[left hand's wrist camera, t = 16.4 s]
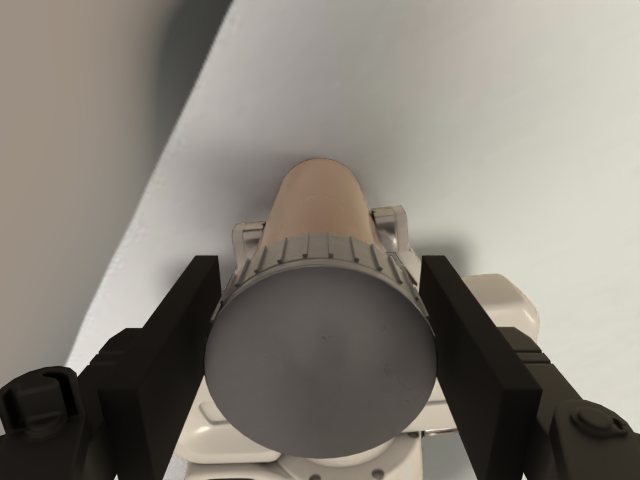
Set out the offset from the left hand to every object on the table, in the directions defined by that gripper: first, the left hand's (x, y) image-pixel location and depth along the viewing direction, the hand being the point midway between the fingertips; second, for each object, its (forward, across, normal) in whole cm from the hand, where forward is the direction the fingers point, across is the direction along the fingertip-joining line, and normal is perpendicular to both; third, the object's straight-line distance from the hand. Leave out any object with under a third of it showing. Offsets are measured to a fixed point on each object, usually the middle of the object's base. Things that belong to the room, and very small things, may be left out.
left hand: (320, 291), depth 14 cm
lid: (-4, 0, 0) cm, 4 cm away
